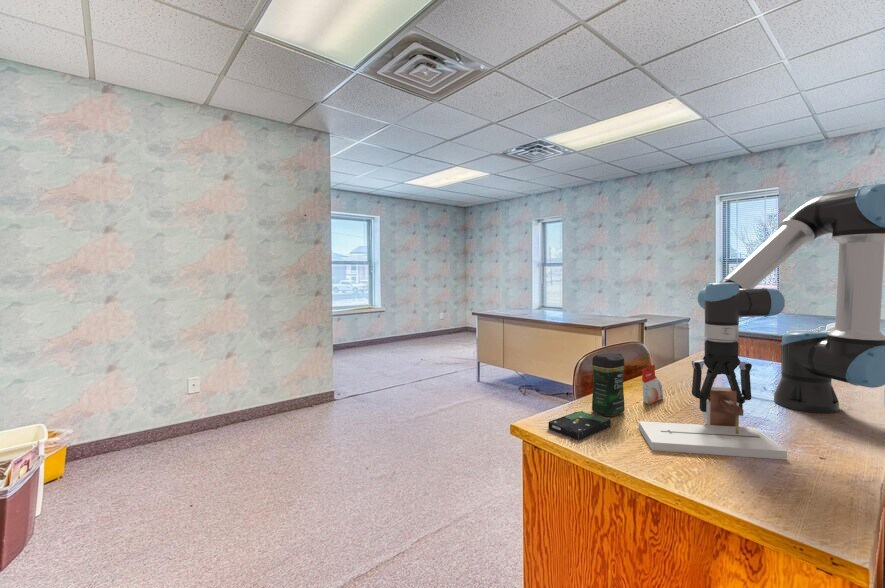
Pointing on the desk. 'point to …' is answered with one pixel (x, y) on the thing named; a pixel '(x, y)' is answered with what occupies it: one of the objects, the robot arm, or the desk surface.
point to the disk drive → (579, 425)
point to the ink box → (651, 386)
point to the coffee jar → (608, 384)
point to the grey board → (710, 440)
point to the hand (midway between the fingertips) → (720, 423)
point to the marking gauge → (724, 407)
